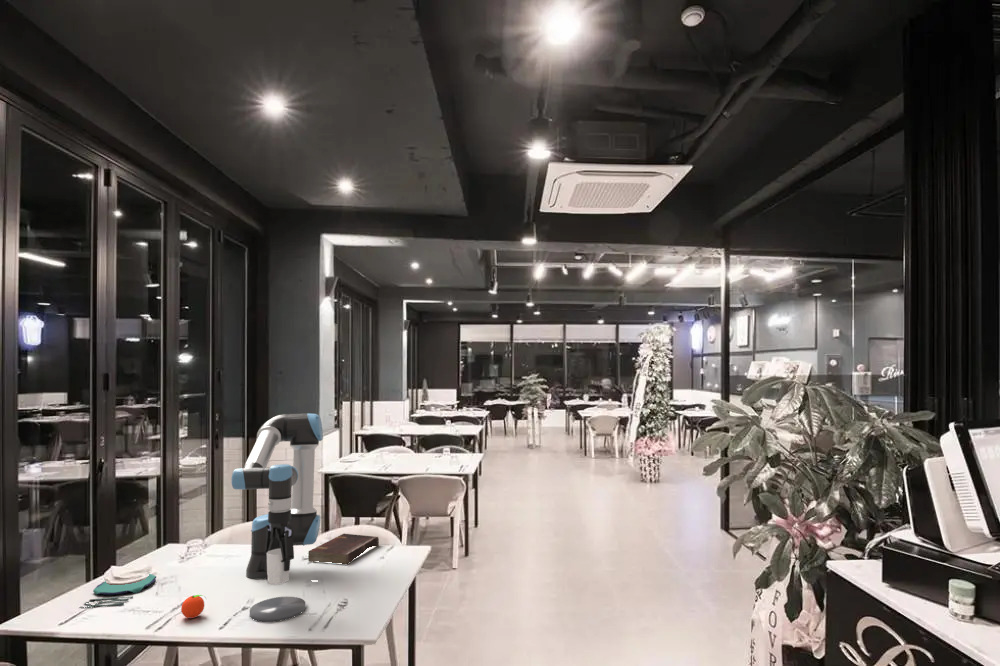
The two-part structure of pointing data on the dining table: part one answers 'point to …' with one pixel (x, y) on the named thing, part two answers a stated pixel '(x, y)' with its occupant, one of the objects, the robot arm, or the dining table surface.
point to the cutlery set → (119, 590)
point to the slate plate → (277, 609)
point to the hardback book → (342, 548)
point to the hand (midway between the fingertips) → (278, 577)
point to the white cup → (274, 566)
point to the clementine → (192, 606)
